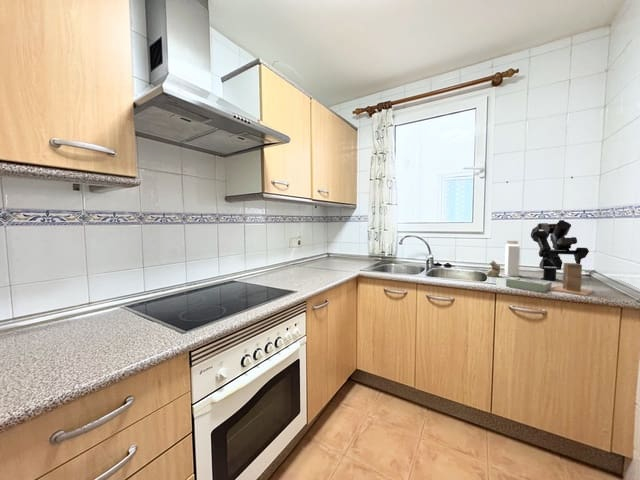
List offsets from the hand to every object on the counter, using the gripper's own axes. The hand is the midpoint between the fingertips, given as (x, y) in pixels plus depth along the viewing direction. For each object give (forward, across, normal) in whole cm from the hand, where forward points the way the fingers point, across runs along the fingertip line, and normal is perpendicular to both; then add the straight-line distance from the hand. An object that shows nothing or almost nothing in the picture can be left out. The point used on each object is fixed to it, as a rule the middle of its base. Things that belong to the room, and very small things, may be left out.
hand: (567, 265), depth 132 cm
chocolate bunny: (-8, -28, +25) cm, 38 cm away
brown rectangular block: (+12, 0, +4) cm, 12 cm away
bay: (+10, -16, +6) cm, 20 cm away
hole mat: (+2, -13, +14) cm, 20 cm away
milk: (-12, -17, +29) cm, 36 cm away
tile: (+12, 0, +4) cm, 13 cm away
